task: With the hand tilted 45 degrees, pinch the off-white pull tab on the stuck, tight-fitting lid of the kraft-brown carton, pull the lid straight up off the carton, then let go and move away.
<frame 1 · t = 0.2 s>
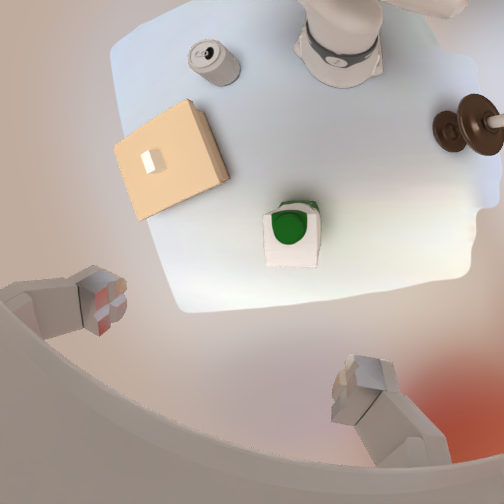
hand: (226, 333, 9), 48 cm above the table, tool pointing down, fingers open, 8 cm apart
can: (224, 72, 49), on the table
carton: (182, 161, 57), on the table
candlestick: (449, 131, 41), on the table
milk carton: (299, 219, 55), on the table
carton lid: (157, 161, 47), point 10 cm above the table, slide at 0.0 cm
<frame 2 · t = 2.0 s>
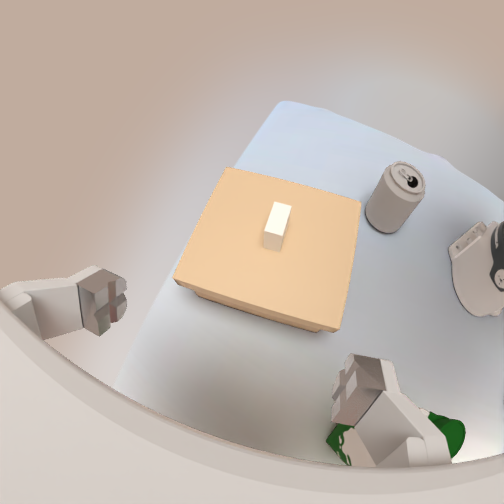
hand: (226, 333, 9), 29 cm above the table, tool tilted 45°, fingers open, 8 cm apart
can: (381, 218, 45), on the table
carton: (272, 266, 41), on the table
milk carton: (356, 430, 30), on the table
carton lid: (276, 232, 32), point 10 cm above the table, slide at 0.0 cm
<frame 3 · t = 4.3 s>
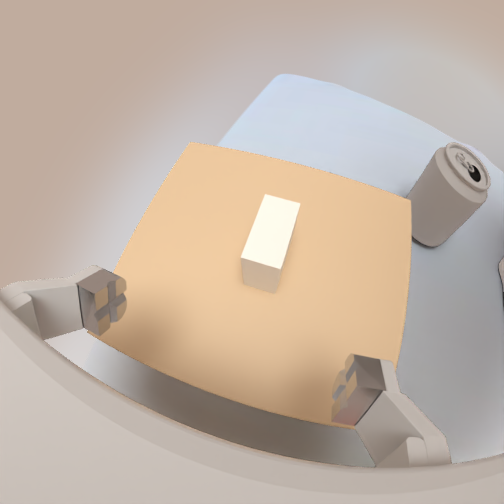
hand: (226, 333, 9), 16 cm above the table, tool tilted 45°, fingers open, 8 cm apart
can: (421, 224, 30), on the table
carton lid: (269, 255, 17), point 10 cm above the table, slide at 0.0 cm
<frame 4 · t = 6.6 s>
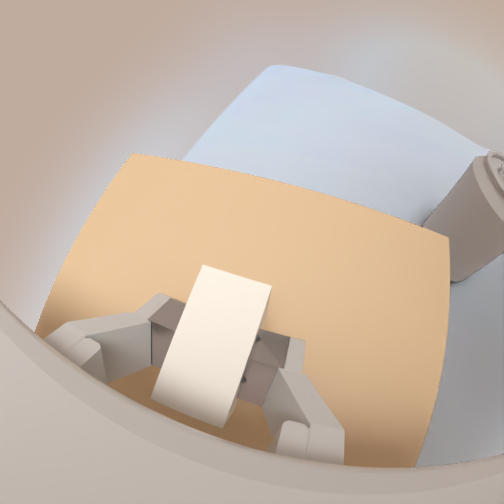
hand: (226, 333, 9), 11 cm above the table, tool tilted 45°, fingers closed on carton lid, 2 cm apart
can: (443, 251, 23), on the table
carton lid: (224, 354, 9), point 10 cm above the table, slide at 0.0 cm, touching gripper
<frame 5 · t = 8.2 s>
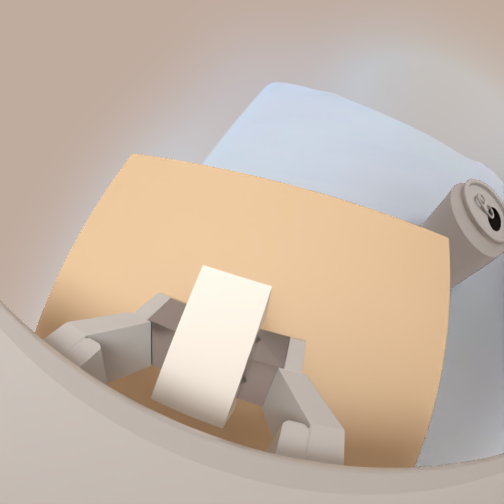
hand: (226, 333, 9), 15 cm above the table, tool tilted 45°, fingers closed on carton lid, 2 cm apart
can: (426, 266, 26), on the table
carton lid: (224, 354, 9), point 14 cm above the table, slide at 3.8 cm, touching gripper
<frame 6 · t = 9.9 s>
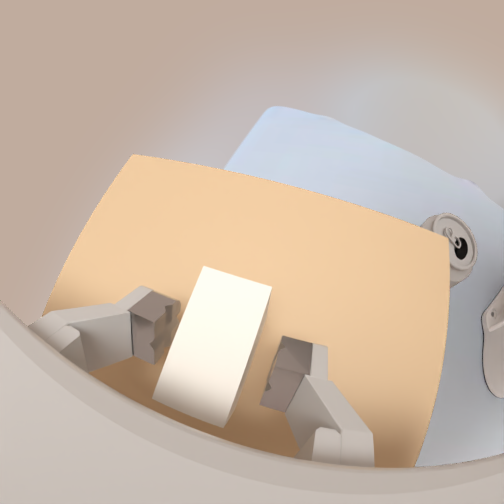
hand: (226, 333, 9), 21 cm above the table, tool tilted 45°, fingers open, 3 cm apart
can: (404, 283, 31), on the table
carton lid: (225, 354, 10), point 20 cm above the table, slide at 9.4 cm
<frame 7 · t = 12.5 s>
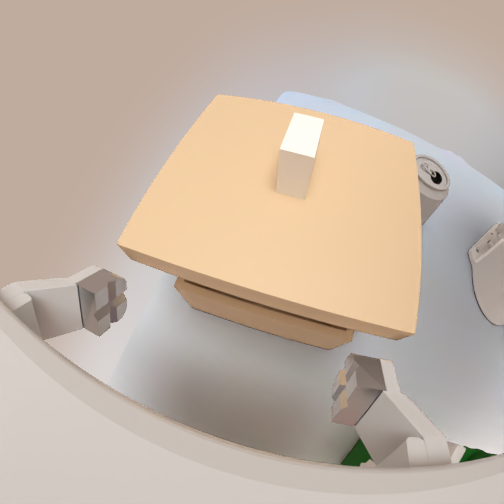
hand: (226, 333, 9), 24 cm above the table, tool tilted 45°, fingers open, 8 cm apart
can: (398, 218, 40), on the table
carton: (278, 272, 36), on the table
milk carton: (371, 455, 24), on the table
carton lid: (297, 168, 18), point 20 cm above the table, slide at 9.4 cm
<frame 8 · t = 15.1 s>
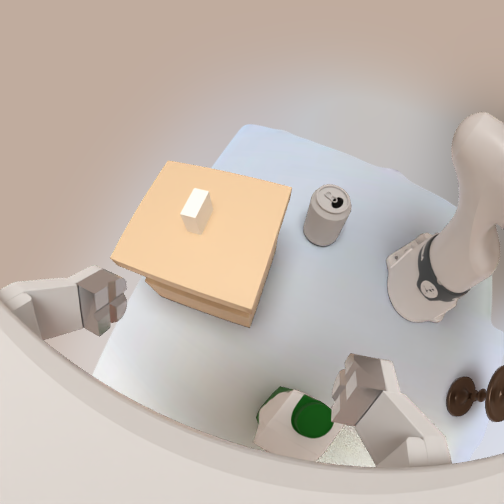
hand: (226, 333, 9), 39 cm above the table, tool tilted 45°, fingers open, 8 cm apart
can: (320, 232, 56), on the table
carton: (218, 273, 52), on the table
candlestick: (459, 396, 38), on the table
milk carton: (284, 412, 40), on the table
carton lid: (199, 217, 34), point 20 cm above the table, slide at 9.4 cm
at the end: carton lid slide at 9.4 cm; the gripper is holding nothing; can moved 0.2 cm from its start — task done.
